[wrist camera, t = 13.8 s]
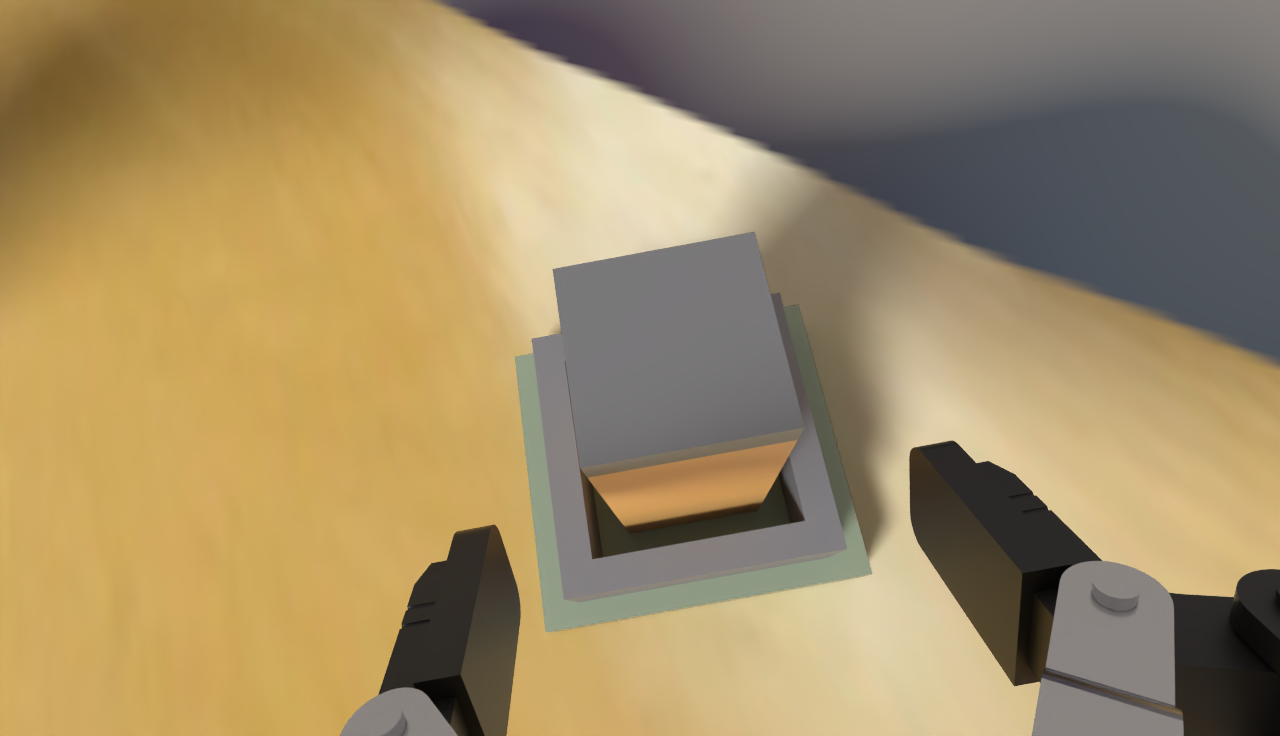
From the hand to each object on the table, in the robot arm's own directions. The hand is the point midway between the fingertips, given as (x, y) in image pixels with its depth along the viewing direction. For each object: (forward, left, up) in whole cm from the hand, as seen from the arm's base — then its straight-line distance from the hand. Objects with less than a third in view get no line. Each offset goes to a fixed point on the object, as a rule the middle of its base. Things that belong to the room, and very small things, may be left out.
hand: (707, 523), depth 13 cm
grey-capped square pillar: (0, +4, -11) cm, 11 cm away
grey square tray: (0, +4, -13) cm, 13 cm away
